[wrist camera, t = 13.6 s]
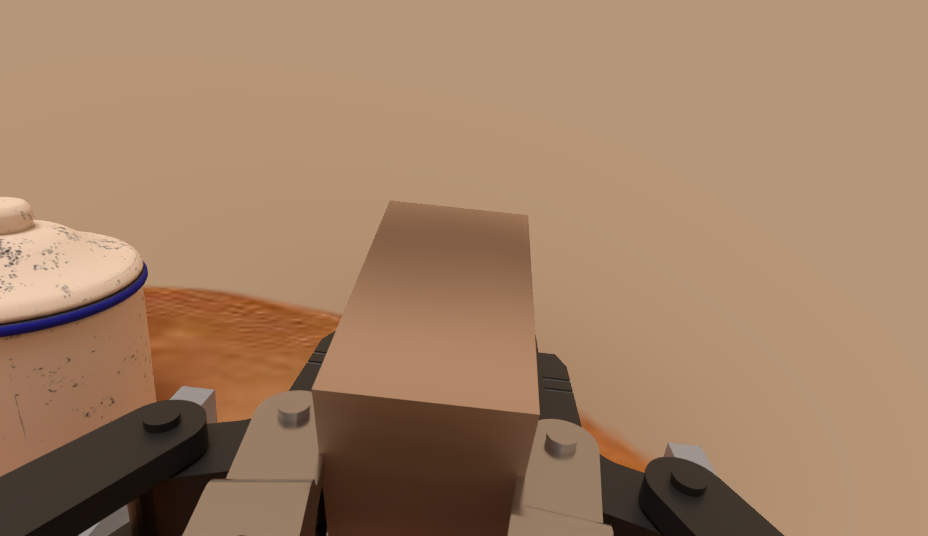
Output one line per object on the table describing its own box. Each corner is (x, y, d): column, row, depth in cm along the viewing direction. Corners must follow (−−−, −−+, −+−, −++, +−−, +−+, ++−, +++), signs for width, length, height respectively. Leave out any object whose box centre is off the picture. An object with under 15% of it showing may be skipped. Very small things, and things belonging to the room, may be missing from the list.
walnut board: (464, 730, 14) (539, 414, 7) (348, 716, 14) (311, 389, 7) (476, 525, 18) (528, 215, 12) (388, 515, 18) (390, 200, 12)
